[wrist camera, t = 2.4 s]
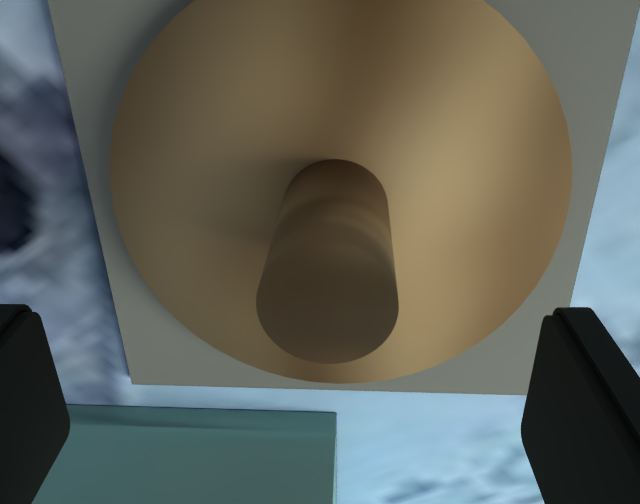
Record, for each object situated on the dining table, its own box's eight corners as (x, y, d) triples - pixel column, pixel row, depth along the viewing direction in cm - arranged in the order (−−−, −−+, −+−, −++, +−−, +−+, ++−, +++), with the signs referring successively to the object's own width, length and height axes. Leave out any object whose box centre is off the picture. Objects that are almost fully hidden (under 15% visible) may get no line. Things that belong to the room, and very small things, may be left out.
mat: (656, -101, 14) (665, -102, 13) (545, 388, 21) (548, 396, 20) (35, -90, 14) (27, -91, 14) (135, 377, 22) (131, 384, 21)
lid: (608, -53, 14) (757, -46, 9) (525, 373, 20) (582, 522, 15) (75, -43, 14) (-77, -32, 9) (156, 363, 21) (89, 502, 16)
